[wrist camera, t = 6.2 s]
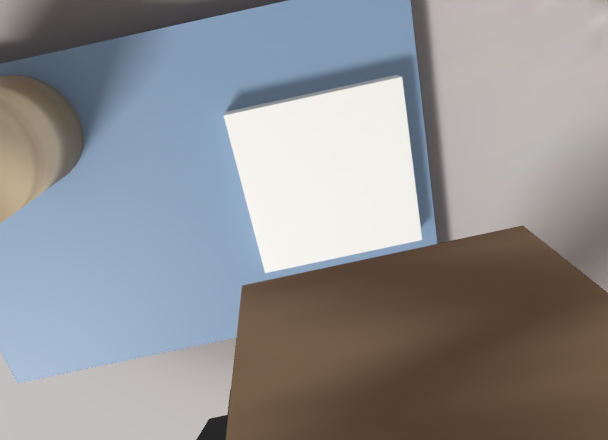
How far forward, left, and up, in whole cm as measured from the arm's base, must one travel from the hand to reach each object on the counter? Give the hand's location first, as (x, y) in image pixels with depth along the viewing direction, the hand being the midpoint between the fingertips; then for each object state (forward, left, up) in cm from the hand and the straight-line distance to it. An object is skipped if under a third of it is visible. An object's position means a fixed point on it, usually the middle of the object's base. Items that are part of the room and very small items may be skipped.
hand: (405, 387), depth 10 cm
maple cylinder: (+13, -5, -15) cm, 21 cm away
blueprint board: (+7, 0, -16) cm, 18 cm away
